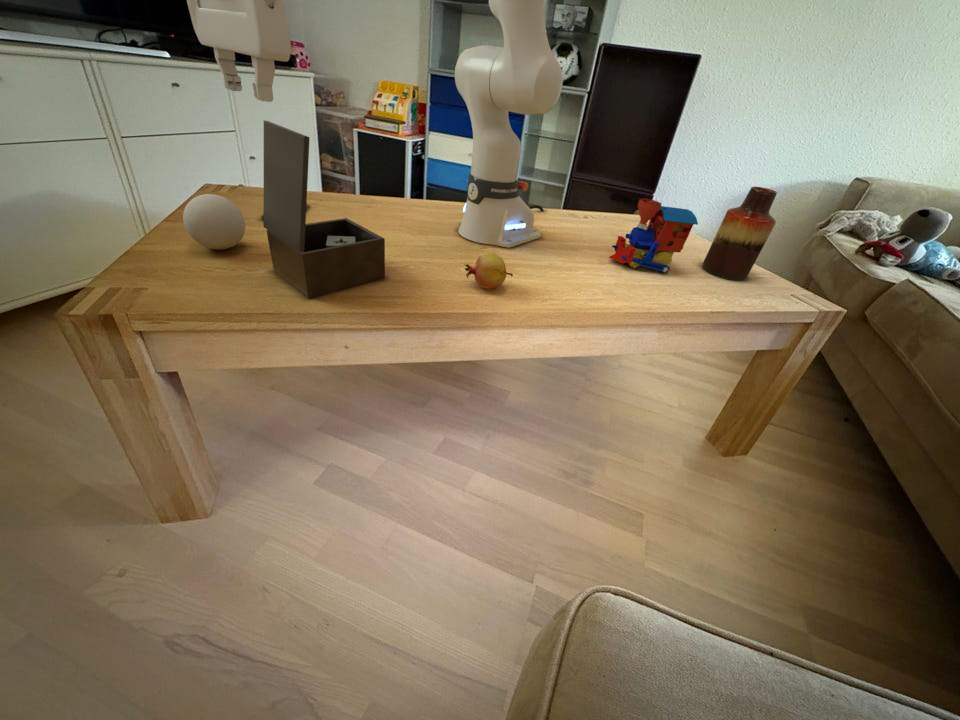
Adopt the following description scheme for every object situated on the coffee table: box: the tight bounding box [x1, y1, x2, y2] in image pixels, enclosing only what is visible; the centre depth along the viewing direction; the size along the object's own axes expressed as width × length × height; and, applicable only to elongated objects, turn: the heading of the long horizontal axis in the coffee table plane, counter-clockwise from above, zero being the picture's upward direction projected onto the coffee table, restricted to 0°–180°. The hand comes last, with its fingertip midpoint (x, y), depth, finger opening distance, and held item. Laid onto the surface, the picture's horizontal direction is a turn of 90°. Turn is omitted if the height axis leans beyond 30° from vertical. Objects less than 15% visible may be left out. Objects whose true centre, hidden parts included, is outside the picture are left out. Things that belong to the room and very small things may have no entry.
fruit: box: [463, 252, 514, 290], centre depth 80 cm, size 7×7×10 cm
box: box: [266, 217, 386, 299], centre depth 76 cm, size 16×13×8 cm
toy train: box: [608, 198, 699, 274], centre depth 99 cm, size 10×16×15 cm, turn 93°
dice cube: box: [326, 236, 355, 248], centre depth 78 cm, size 5×5×5 cm
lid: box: [263, 119, 311, 252], centre depth 64 cm, size 16×13×1 cm
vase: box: [701, 186, 778, 282], centre depth 101 cm, size 11×11×20 cm
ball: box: [182, 193, 246, 250], centre depth 79 cm, size 10×10×10 cm
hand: (248, 95), depth 55 cm, fingers open, 8 cm apart
